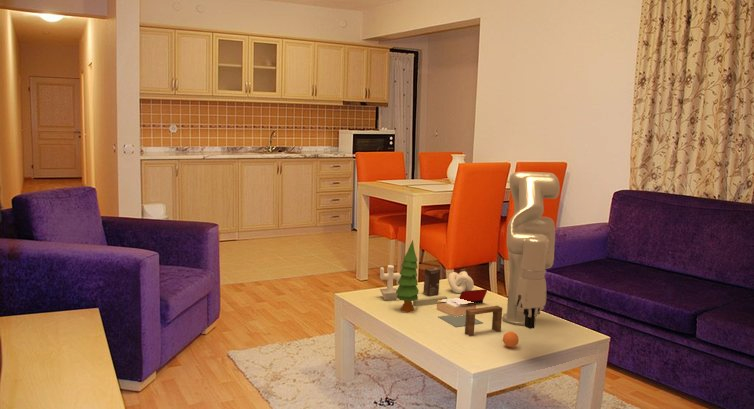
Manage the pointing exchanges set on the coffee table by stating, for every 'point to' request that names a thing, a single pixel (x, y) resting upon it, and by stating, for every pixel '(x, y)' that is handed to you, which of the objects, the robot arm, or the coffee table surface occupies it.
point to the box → (431, 281)
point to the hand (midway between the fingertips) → (529, 327)
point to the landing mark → (457, 320)
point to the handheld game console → (473, 295)
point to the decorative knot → (460, 282)
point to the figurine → (389, 283)
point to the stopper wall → (428, 301)
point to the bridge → (472, 312)
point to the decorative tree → (408, 280)
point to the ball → (510, 339)
